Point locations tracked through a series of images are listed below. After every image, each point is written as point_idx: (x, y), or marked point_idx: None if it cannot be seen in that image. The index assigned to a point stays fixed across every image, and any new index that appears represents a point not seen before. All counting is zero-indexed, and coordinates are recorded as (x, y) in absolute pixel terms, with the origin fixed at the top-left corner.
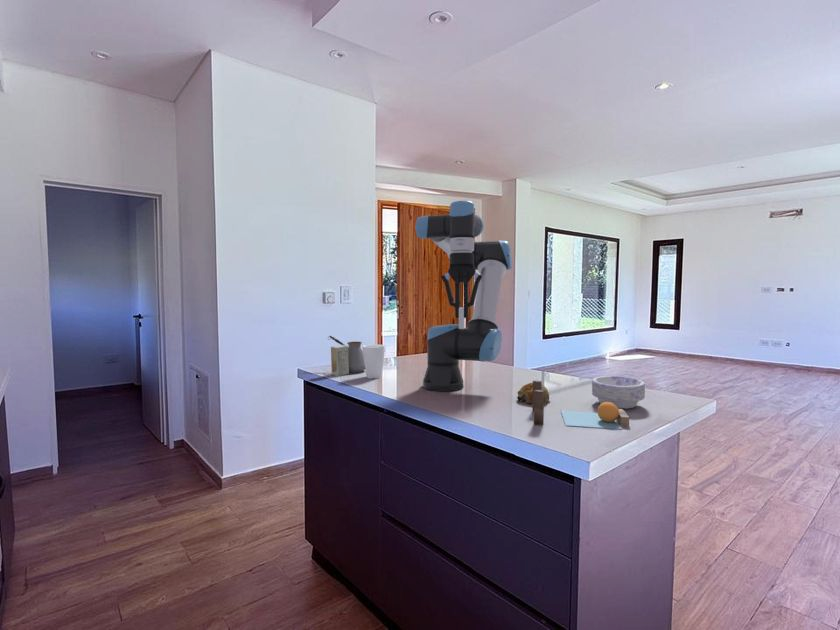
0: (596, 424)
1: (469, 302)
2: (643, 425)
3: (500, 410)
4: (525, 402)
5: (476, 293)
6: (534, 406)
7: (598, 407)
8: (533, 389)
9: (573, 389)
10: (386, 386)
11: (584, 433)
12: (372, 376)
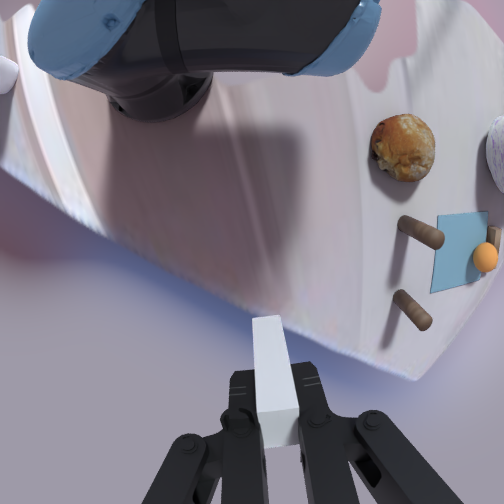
0: (463, 274)
1: (351, 460)
2: (499, 252)
3: (341, 241)
4: (386, 171)
5: (439, 478)
6: (406, 314)
7: (481, 260)
8: (421, 241)
9: (447, 47)
10: (44, 135)
11: (441, 312)
12: (5, 91)
